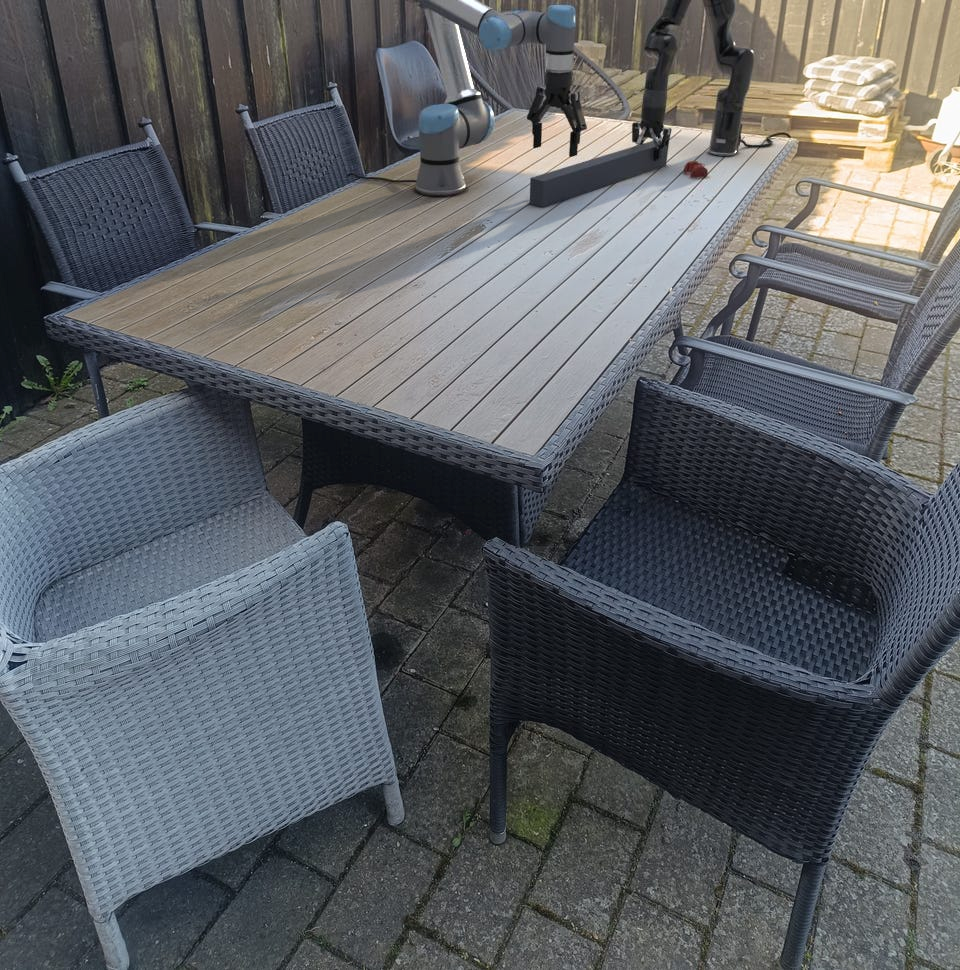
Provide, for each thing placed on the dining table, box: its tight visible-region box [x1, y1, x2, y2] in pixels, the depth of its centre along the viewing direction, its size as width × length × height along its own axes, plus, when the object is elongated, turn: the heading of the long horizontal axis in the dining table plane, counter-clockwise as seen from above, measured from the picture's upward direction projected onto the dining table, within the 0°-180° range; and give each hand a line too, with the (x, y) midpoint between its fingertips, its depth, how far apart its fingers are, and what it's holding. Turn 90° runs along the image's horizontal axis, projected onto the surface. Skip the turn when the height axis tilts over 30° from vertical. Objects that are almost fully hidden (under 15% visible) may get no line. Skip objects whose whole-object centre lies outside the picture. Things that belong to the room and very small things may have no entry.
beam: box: [529, 140, 670, 208], centre depth 262 cm, size 63×5×7 cm, turn 135°
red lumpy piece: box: [683, 160, 709, 178], centre depth 270 cm, size 6×4×8 cm
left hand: (554, 151), depth 242 cm, fingers open, 13 cm apart
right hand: (648, 158), depth 276 cm, fingers open, 6 cm apart
